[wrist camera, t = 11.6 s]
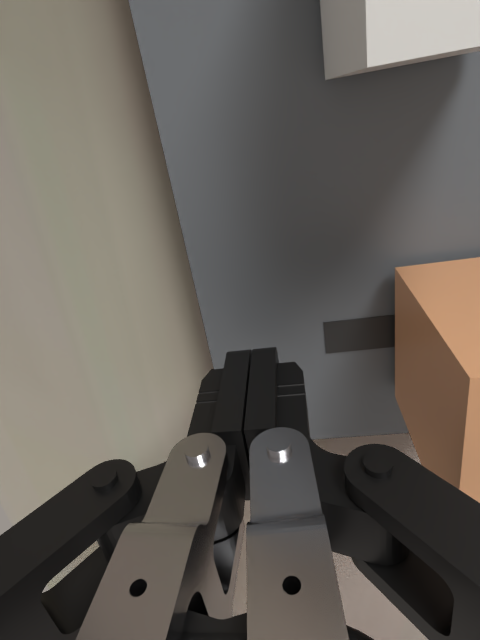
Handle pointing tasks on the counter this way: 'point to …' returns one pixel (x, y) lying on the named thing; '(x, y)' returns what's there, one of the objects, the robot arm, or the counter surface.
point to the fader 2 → (441, 366)
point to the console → (309, 190)
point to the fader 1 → (395, 33)
